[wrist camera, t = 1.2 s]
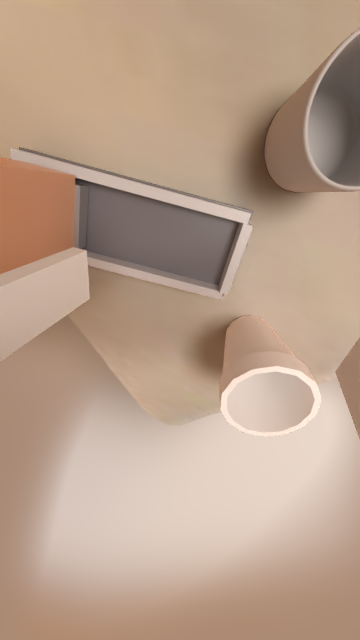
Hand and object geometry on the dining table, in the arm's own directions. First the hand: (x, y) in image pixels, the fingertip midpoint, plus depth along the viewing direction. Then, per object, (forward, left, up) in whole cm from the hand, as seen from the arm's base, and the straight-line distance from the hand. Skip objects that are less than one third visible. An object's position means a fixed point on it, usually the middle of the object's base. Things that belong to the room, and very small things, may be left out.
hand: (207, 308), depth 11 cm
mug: (+1, +15, -20) cm, 25 cm away
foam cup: (+14, -5, -20) cm, 25 cm away
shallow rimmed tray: (-7, -5, -20) cm, 22 cm away
